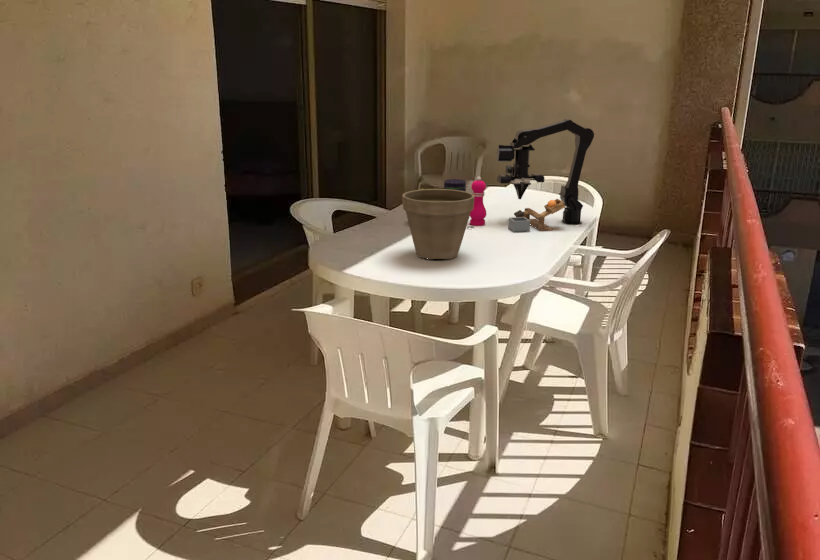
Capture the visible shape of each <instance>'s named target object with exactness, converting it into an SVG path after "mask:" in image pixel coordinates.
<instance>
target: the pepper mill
mask: <svg viewBox="0 0 820 560" xmlns="http://www.w3.org/2000/svg"><path fill="white" fill-rule="evenodd" d="M470 188H471V190H472V193H471V194H473V195H474V207H473V210H472V211H471V212H470V216H469V225H471V226H475V227H480V226H484V225H486V219H485V218H486V217H487V210H486V208H485V204H484V196H485V190H486V189H487V185H486V183H485V181H484V180H482V177H481V176H477V177H476V180H474V181H472V183H471V187H470Z"/></svg>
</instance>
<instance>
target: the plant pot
mask: <svg viewBox="0 0 820 560" xmlns="http://www.w3.org/2000/svg"><path fill="white" fill-rule="evenodd" d="M401 199H402V209H403V210H404V211H405V213H406V218H407V223H408V227H409V230H410V234H411V239H412V242H413V246H414V250H415V254H416V256H417V255H418V257H419V256H420V257H419V258H421V257H423V258H422V259H424V258H428V259H427V260H429V259H448V260H451V259H450V258H452V259H455V258H456V257H458V255H459V252H460V249H461V246H462V243H463V239H464V235H465V233H466V231H467V230H466V228H467V226H468V223H469V220H470V212H471V211H472V210H473V207H474V195H473V193H471V192H468V191H466V192H465V191H459V190H450V189H444V188H426V189H425V188H423V189H422V190H421V189H416V190H415V189H414V190H410V191H406V192H404V193H402V196H401ZM454 257H455V258H454Z"/></svg>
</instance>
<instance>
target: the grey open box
mask: <svg viewBox="0 0 820 560" xmlns="http://www.w3.org/2000/svg"><path fill="white" fill-rule="evenodd" d="M507 223H508V224H507V228H508V230H510V231H511V232H512V233H528V232H527V231H530V232H531V229H530V227H531V225H530V220H528V219H527V218H525V217H516V216H514V217H508V222H507Z"/></svg>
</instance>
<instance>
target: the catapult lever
mask: <svg viewBox="0 0 820 560" xmlns="http://www.w3.org/2000/svg"><path fill="white" fill-rule="evenodd" d="M553 200H554V201H555V202H556V205H555V206H554V207H552V208H550V207H548V205H547V204H545V205H544V206H543V207H544V209H545V210H544V211H543V212H541V213H539V212H537V211H535V209H534V210H533V209H532V208H529V207H528V208H529V209H528V210H526V211H525V210H524V211H522V210H521V209H519V210H517V211H516V212H514V213H513V215H514V217H525V216H527V215H529V214H530V217H531V216H532V217H533V218H534V219H537V220H539V217H545V218H546V217H547V216H549V215H554V214H555V213H557V212H558V211H561V210H564V208H565V207H566V206H565V204H564V202H563V201H561V199H560V198H556V199H553Z"/></svg>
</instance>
